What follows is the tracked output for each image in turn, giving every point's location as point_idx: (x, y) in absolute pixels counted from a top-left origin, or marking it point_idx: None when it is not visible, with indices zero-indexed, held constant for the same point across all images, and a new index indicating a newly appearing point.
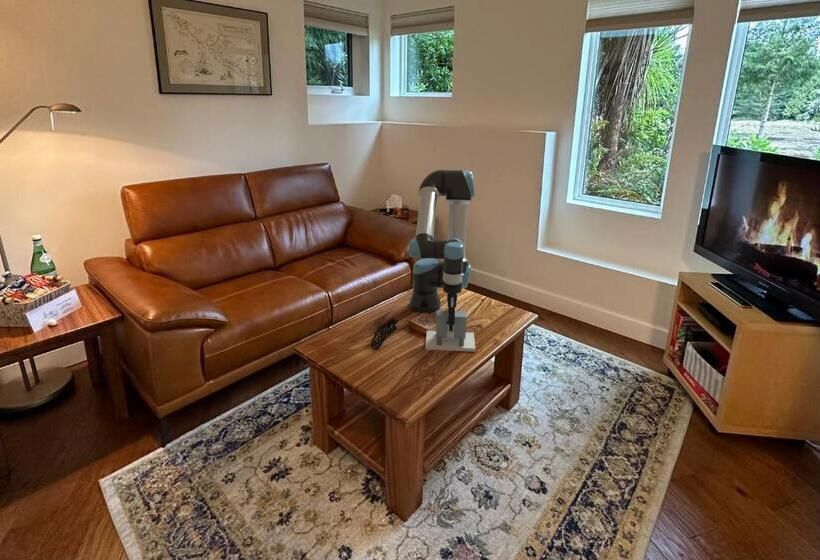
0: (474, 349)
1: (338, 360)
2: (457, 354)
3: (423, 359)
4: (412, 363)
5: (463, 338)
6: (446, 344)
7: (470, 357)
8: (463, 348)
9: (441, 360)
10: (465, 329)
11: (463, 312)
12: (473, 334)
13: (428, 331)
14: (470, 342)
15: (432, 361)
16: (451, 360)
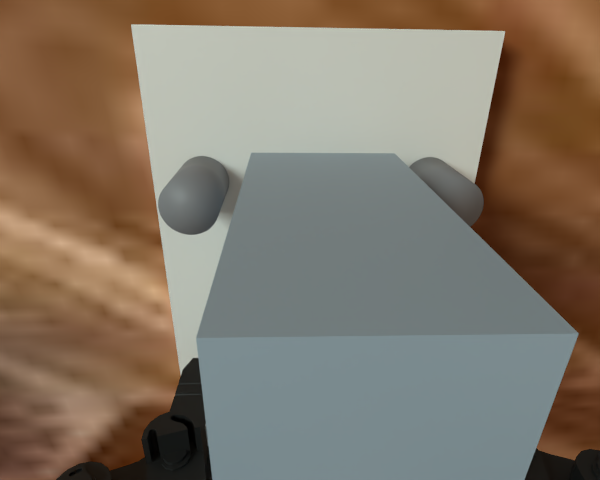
0: (495, 40)
1: None
2: (511, 204)
3: None
4: (571, 456)
5: (448, 187)
6: None
7: (582, 89)
8: (475, 160)
9: (575, 315)
10: (436, 201)
11: (267, 401)
12: (178, 31)
13: None
14: (371, 82)
15: (574, 365)
16: (592, 250)
